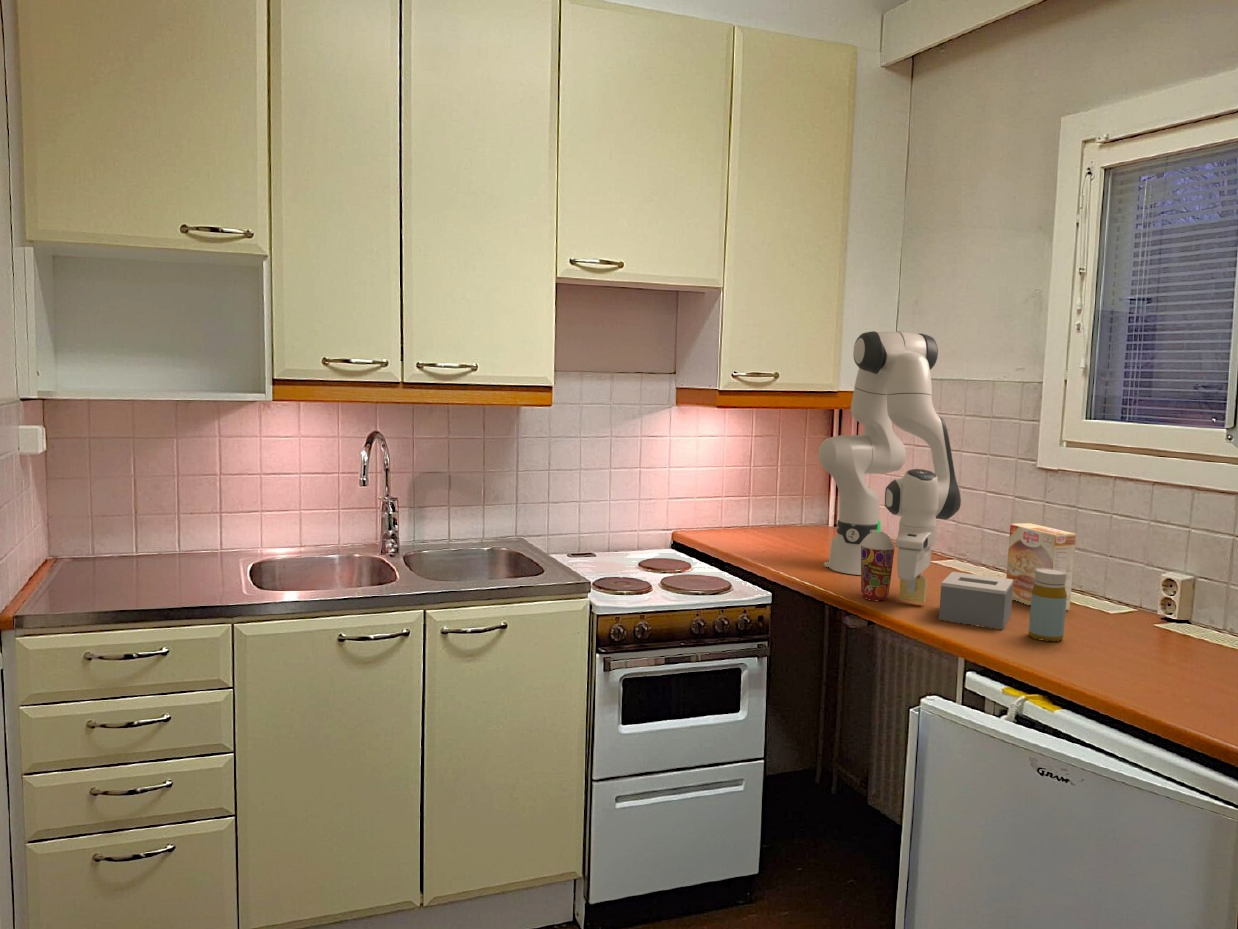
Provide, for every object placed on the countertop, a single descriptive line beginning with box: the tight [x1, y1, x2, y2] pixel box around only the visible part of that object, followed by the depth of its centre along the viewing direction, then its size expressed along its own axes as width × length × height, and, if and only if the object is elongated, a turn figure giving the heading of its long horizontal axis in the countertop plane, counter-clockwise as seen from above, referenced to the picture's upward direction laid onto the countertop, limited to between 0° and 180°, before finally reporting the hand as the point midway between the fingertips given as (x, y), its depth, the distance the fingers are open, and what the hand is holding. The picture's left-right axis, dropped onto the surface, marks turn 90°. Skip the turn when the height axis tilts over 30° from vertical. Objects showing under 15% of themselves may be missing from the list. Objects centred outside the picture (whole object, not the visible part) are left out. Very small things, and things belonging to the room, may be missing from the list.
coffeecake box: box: [1005, 522, 1077, 611], centre depth 239 cm, size 15×7×20 cm, turn 21°
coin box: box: [938, 571, 1013, 630], centre depth 224 cm, size 14×14×9 cm
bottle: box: [1028, 568, 1067, 642], centre depth 209 cm, size 7×7×15 cm
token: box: [898, 576, 929, 604], centre depth 235 cm, size 2×6×6 cm, turn 60°
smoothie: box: [860, 520, 896, 601], centre depth 240 cm, size 8×8×20 cm
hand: (913, 590), depth 235 cm, fingers closed on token, 2 cm apart
